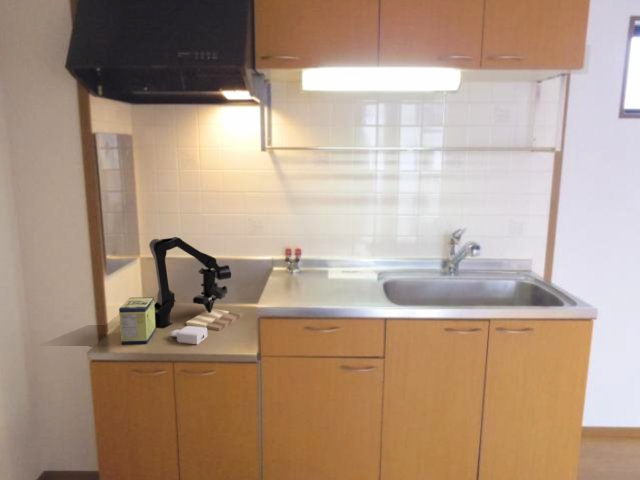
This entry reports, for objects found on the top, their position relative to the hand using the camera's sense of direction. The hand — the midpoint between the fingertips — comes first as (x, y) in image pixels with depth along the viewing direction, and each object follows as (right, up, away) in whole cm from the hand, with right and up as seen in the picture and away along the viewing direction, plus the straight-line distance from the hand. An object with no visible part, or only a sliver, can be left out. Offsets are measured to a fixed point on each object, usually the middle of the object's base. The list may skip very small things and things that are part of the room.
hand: (209, 312), depth 224 cm
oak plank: (0, -2, -5) cm, 6 cm away
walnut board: (+9, -3, -8) cm, 13 cm away
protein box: (-24, -7, -27) cm, 36 cm away
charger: (-3, -7, -28) cm, 29 cm away
